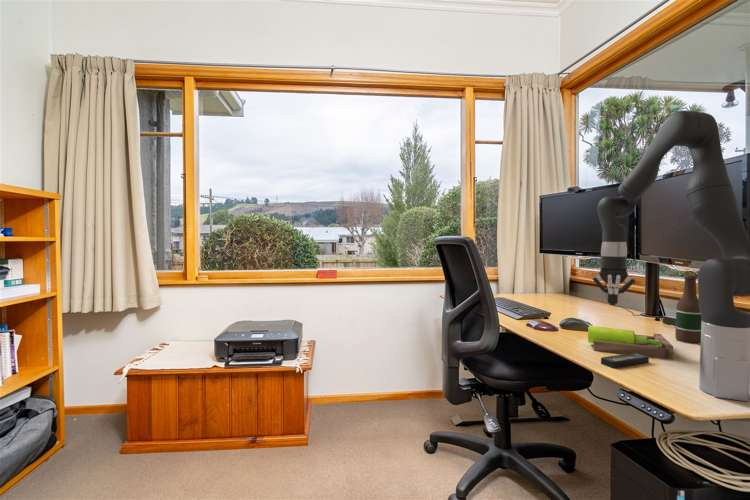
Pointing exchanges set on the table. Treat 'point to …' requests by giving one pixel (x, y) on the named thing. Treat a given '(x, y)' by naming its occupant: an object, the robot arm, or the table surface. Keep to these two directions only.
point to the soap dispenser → (618, 336)
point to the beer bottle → (688, 313)
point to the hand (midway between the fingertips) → (612, 304)
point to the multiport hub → (624, 360)
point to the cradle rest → (637, 347)
